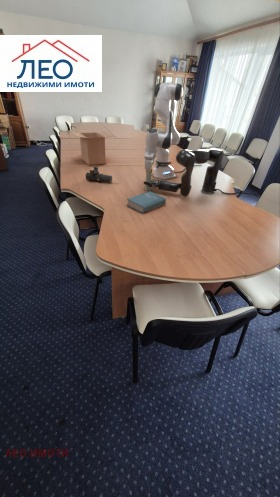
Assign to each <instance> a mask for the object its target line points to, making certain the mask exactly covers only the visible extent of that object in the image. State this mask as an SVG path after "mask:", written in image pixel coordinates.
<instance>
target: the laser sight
mask: <svg viewBox="0 0 280 497" xmlns="http://www.w3.org/2000/svg"><path fill="white" fill-rule="evenodd" d="M85 179H86V180H87V181H90V182H91V181H92V182H99V183H110V184H111V183H112V181H113V175H108V174H104V173H100V171H99V167H97V166H93V170H92V169H89V172H88V171H87V172H86V173H85Z"/></svg>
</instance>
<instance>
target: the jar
mask: <svg viewBox="0 0 280 497" xmlns="http://www.w3.org/2000/svg"><path fill="white" fill-rule="evenodd" d="M152 174H153V172H152V173H149V175H148V174H147V173H146V172H145V182H151V180H152ZM150 184H151V183H150ZM144 185H145V184H144ZM144 191H145V192H149V191H150V192H151V187H148V185H145V186H144Z"/></svg>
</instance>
